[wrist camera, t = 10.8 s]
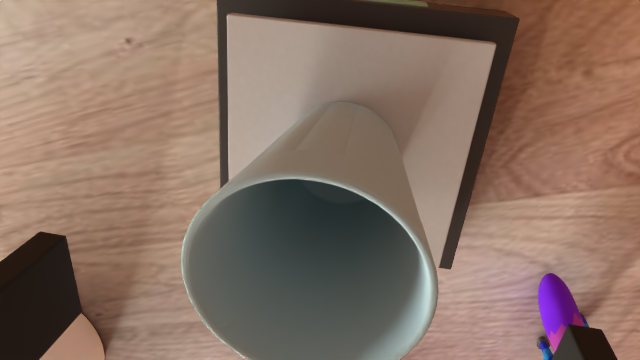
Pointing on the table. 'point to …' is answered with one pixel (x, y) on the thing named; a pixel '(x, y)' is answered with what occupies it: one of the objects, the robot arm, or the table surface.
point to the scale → (369, 86)
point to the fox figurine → (556, 312)
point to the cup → (315, 247)
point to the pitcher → (77, 343)
